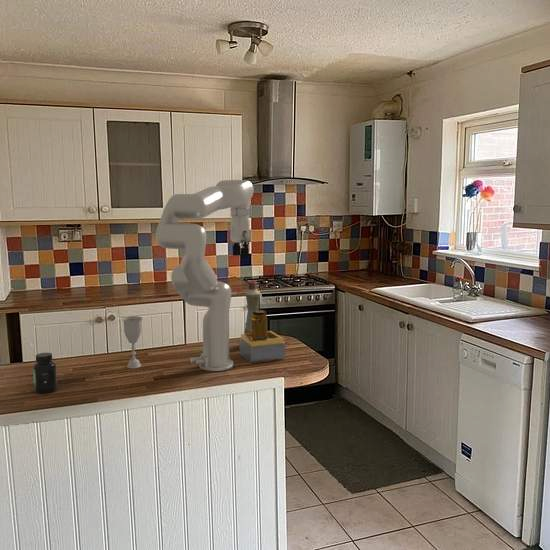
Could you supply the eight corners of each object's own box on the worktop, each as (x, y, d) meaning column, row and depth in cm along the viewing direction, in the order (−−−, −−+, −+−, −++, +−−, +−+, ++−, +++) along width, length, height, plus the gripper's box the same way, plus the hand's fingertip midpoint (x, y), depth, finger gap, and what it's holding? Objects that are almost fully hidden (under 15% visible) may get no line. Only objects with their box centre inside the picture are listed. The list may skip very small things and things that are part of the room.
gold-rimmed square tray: (251, 362, 202) (250, 342, 201) (239, 353, 214) (239, 333, 212) (290, 357, 208) (290, 337, 207) (277, 348, 220) (277, 329, 219)
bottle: (253, 342, 230) (252, 277, 226) (268, 346, 224) (268, 279, 220) (238, 346, 224) (238, 280, 219) (254, 350, 218) (254, 282, 213)
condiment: (250, 339, 212) (250, 309, 211) (271, 338, 213) (271, 309, 211) (251, 344, 205) (251, 313, 203) (273, 343, 206) (273, 313, 204)
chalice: (120, 367, 196) (117, 319, 193) (131, 362, 202) (129, 315, 200) (136, 370, 194) (134, 321, 191) (147, 364, 200) (146, 317, 197)
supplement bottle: (32, 394, 170) (29, 358, 168) (37, 387, 176) (35, 352, 174) (54, 393, 171) (52, 357, 169) (59, 386, 177) (57, 351, 176)
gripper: (224, 212, 215) (224, 254, 218) (238, 214, 200) (238, 259, 202) (241, 212, 218) (242, 254, 221) (257, 213, 202) (257, 258, 205)
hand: (240, 256), depth 212 cm, fingers open, 9 cm apart
